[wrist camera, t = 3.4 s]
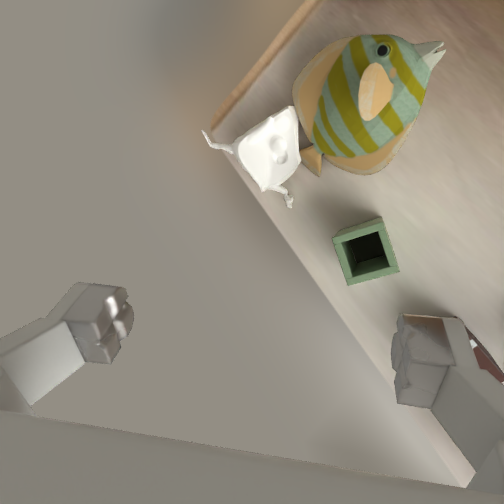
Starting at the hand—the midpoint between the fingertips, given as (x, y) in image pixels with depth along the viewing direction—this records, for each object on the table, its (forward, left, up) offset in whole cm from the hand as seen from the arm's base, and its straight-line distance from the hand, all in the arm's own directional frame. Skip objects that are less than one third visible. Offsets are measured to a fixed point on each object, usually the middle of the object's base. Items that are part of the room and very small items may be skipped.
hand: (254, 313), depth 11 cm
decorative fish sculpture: (-8, -6, -36) cm, 38 cm away
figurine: (+1, -13, -37) cm, 39 cm away
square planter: (-1, +4, -41) cm, 41 cm away
